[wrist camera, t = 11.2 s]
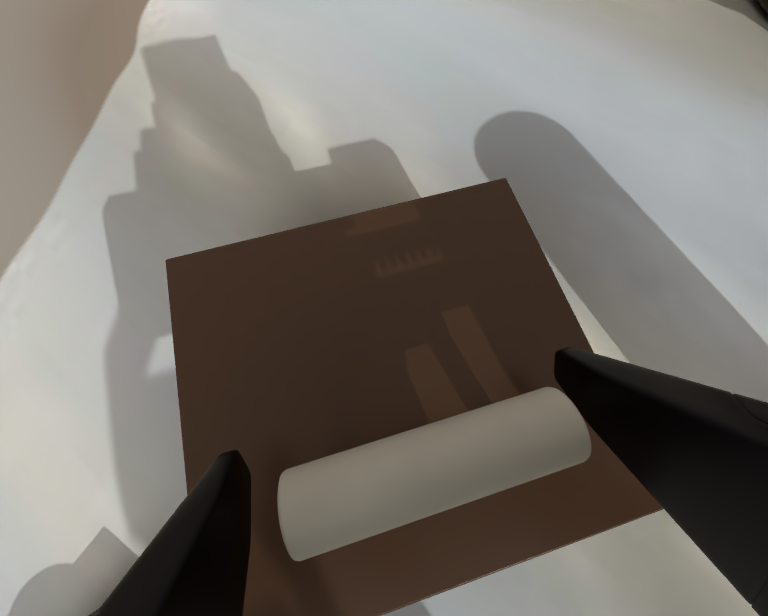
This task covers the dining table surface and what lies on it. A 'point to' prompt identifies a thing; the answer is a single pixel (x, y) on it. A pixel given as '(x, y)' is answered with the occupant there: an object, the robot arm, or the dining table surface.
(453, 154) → the dining table surface
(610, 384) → the robot arm
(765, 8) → the amphora vase
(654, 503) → the lid
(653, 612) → the dining table surface
